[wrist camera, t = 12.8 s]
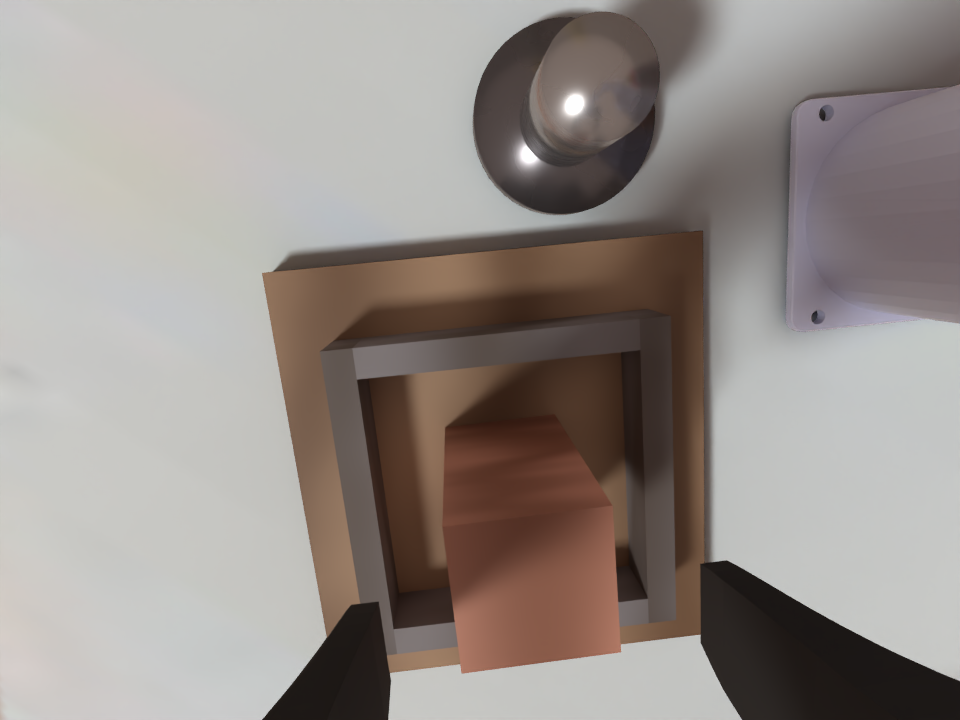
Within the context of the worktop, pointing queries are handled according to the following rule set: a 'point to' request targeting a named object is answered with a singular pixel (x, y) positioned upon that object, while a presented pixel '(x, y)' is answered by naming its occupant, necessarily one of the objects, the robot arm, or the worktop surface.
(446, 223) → the worktop surface
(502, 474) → the plug block
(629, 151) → the metal door knob
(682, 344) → the holder board
